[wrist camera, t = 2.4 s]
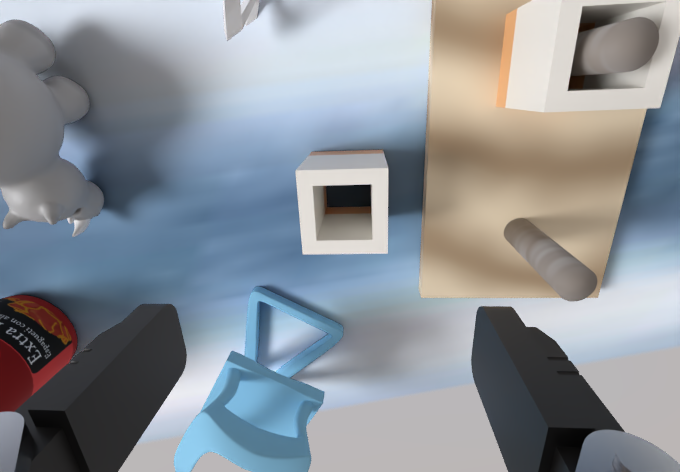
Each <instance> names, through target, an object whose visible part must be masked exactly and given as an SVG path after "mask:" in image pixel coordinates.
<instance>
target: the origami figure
mask: <svg viewBox="0 0 680 472" xmlns="http://www.w3.org/2000/svg"><path fill="white" fill-rule="evenodd" d="M259 1H260V0H244V1H243V2H242V4H241V5H240V0H223V14H224V31H225V35H226V38H227V41H228V40H229V39H231V38H232V37H233V36H235V35H236V34H237V33H238V32H240V31H241V30H242V29H243V27H244V25H246V26H247V25H248V24H250V23H251V22H252V21H254V20H255V19H257V13H258V7H259Z"/></svg>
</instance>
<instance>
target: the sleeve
mask: <svg viewBox="0 0 680 472" xmlns="http://www.w3.org/2000/svg"><path fill="white" fill-rule="evenodd" d="M296 181H297V193H298V204H299V216H300V227H301V239H302V251H303V254H388V165H387V162H386V159H385V155H384V152H383V150H355V151H323V152H311V153H310V155H309V156H308V157H307V158H306V159H305V160H304V161H303V163H302V164H301V165H300V166H299V167H298V168H297V170H296ZM369 184H371V206H368V207H327V195H326V186H328V185H369Z"/></svg>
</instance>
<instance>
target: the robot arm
mask: <svg viewBox="0 0 680 472" xmlns="http://www.w3.org/2000/svg"><path fill="white" fill-rule="evenodd" d="M186 356H187V354H186V348H185V343H184V339H183V335H182V331H181V327H180V322H179V318H178V314H177V310H176V308H175V307H174V306H173V305H172V304H142V305H140V306H138V307H137V308H136V309H135V310H134V311H133V312H132V313H131V314H130V315H129V316H128V317H127V318H125V319H124V320H123V321H122V322H121V323H119V324H117V325H115V326H114V327H112V328H110V329H108V330H107V331H105V332H103V333H102V334H100V335H99V336H98V337H96V338H95V339H94V340H93V341H92V342H91V343H90V344H89V345H88V346H86V347H85V348H84V351H83V352H80V353H79V354H78V355H76V356H75V357H74V358H73V359H72V360H71V362H70V364H66V365H65V366H64V367H63V368H62V369H61V370H60V371H59V372H58V373H56V374H55V375H54V376H53V377H52V378H51V379H50V380H49V381H48V382H47V383H45V384H44V385H43V386H42V387H41V388H40V389H39V390H38V391H37V392H35V393H34V394H33V395H32V396H31V397H30V398H29V399H28V400H27V401H25V402H24V403H23V404H22V405H21V406H20V407H19V408H18V409H17V410H15V411H14V412H0V472H118V471H119V469H120V468H121V466H122V465H123V463H124V462H125V460H126V458H127V457H128V455H129V454H130V452H131V451H132V450H133V448H134V446H135V445H136V443H137V442H138V440H139V439H140V437H141V436H142V434H143V433H144V431H145V430H146V428H147V427H148V425H149V424H150V422H151V421H152V419H153V418H154V416H155V415H156V413H157V412H158V410H159V409H160V407H161V406H162V404H163V402H164V401H165V399H166V398H167V396H168V395H169V393H170V392H171V390H172V389H173V387H174V386H175V384H176V383H177V381H178V380H179V378H180V377H181V375H182V373H183V371H184V368H185V365H186ZM471 363H472V373H473V378H474V381H475V384H476V387H477V390H478V392H479V395H480V398H481V400H482V403H483V406H484V408H485V411H486V413H487V416H488V419H489V422H490V424H491V427H492V429H493V432H494V435H495V437H496V440H497V443H498V445H499V448H500V451H501V453H502V456H503V459H504V462H505V464H506V467H507V470H508V472H680V464H679V463H678V462H677V461H675V460H674V459H673V458H672V457H671V456H669V455H668V454H667V453H666V452H664V451H663V450H661V449H660V448H659V447H657V446H655V445H654V444H652V443H650V442H648V441H646V440H644V439H642V438H640V437H637V436H635V435H632V434H629V433H626V432H625V431H624V430H623V429H622V427H621V426H620V425H619V424H618V422H617V421H616V420H615V418H614V417H613V416H612V414H611V413H610V412H609V410H608V409H607V408H606V407H605V405H604V404H603V403H602V401H601V400H600V399H599V397H598V396H597V395H596V394H595V392H594V391H593V390H592V388H591V387H590V386H589V385H588V383H587V382H586V380H585V379H584V378H583V376H582V375H579V371H578V370H577V369H576V367H575V366H574V365H573V363H572V362H571V361H568V357H567V356H566V354H565V353H564V352H563V350H562V349H561V348H560V346H559V345H558V344H557V342H556V341H555V340H553V339H552V338H550V337H549V336H548V335H546V334H545V333H543V332H542V331H541V330H539V329H538V328H536V327H526V326H525V325H524V323H523V322H522V320H521V319H520V317H519V316H518V314H517V313H516V311H515V310H514V309H513V308H512V307H487V306H481V307H479V308H478V310H477V314H476V323H475V331H474V340H473V348H472V357H471Z"/></svg>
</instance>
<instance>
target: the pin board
mask: <svg viewBox="0 0 680 472" xmlns="http://www.w3.org/2000/svg"><path fill="white" fill-rule="evenodd" d="M530 1H532V0H432V15H431V36H430V58H429V80H428V101H427V123H426V144H425V166H424V188H423V209H422V231H421V253H420V274H419V292H420V295H421V298H563V299H565V300H567V301H579V300H582V299H585V298H598V295H599V292H600V288H601V284H602V280H603V276H604V272H605V268H606V265H607V261H608V257H609V253H610V249H611V245H612V241H613V238H614V234H615V230H616V226H617V222H618V218H619V214H620V211H621V207H622V203H623V199H624V195H625V191H626V187H627V184H628V180H629V176H630V172H631V168H632V164H633V160H634V157H635V153H636V149H637V145H638V141H639V137H640V133H641V130H642V126H643V122H644V118H645V114H646V110H647V109H622V110H595V111H569V112H536V111H527V110H519V109H510V108H502V107H496V101H497V92H498V83H499V74H500V65H501V56H502V48H503V39H504V30H505V21H506V14H508V13H510V12H511V11H513V10H515V9H517V8H519V7H521V6H522V5H524V4H526V3H528V2H530ZM658 43H659V31H658V28H657V26H656V24H655V23H654V22H653V21H652V20H650V19H648V18H645V17H635V18H631V19H627V20H624V21H620V22H616V23H613V24H609V25H606V26H602V27H598V28H595V29H591V30H587V31H584V32H580V33H578V35H577V40H576V46H575V51H574V57H573V63H572V68H571V74H570V76H581V75H595V74H608V73H622V72H631V71H634V70H637V69H639V68H640V67H642V66H643V65H645V64H646V63H647V62H648V61H649V60H650V59H651V58H652V56H653V55H654V53H655V51H656V49H657V46H658Z"/></svg>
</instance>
